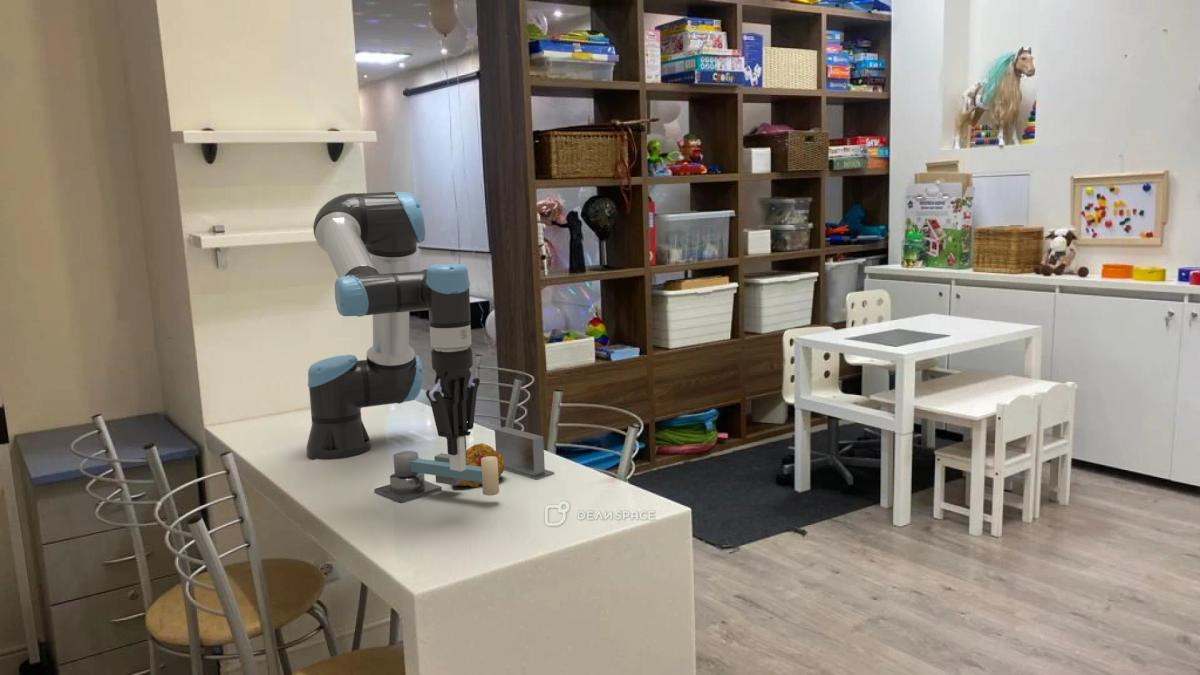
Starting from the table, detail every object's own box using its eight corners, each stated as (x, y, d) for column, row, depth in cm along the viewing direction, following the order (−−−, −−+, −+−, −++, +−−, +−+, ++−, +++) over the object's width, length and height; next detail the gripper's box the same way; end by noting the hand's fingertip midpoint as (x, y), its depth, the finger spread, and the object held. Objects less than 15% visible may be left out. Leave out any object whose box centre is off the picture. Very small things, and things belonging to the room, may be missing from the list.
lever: (390, 482, 184) (387, 449, 182) (409, 473, 189) (406, 441, 188) (490, 498, 172) (488, 463, 171) (507, 488, 177) (506, 454, 176)
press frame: (374, 492, 185) (371, 450, 184) (494, 457, 207) (492, 420, 206) (431, 516, 170) (428, 471, 169) (554, 475, 192) (552, 435, 191)
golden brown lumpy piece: (483, 506, 185) (444, 480, 183) (477, 501, 193) (439, 475, 191) (513, 462, 187) (475, 435, 185) (506, 458, 195) (469, 432, 193)
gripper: (443, 356, 156) (450, 483, 161) (489, 343, 167) (494, 462, 172) (412, 352, 160) (419, 476, 165) (458, 340, 171) (464, 456, 176)
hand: (458, 469), depth 168 cm, fingers closed
